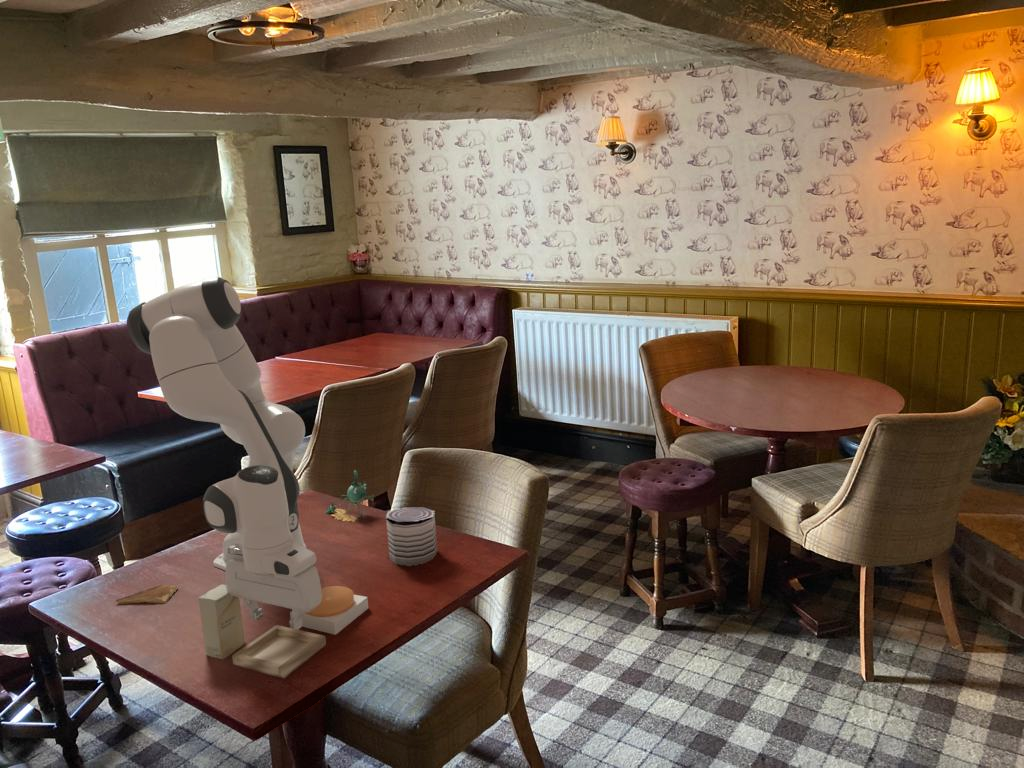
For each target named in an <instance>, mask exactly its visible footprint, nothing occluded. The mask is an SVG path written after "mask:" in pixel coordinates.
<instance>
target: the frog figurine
mask: <svg viewBox="0 0 1024 768" xmlns="http://www.w3.org/2000/svg"><path fill="white" fill-rule="evenodd" d="M353 478H354V481H353V482H352V483H351V485H350V486H349V487H348V489H347V492H346V493H347V494H342V495H340V501H339V504H338V506H339V507H342V501H343V502H344V504H345V506H346V509H342V508H337V505H336V504H334V501H333V500H331V505H328V507H326V509H325V511H324V514H331V516H332V517H334V519H335V520H337V521H341V522H352V523H356V521H357V520H358V519H359V518H358V517H356V516H354V515H349V514H348V511H350V506H351V505H353V506H356V507H357V509H358V512H359V517H361V515H362V518H363V519H366V518H367V517H366V516H364V513H363V510H362V508H361V506H360V505H359V503H360V502H363V500H365V498H367V499H369V500H371V501H372V502H374V497H375V495H374V494H371V495H369V492H366V489H367V487H368V485H367V483H368V482H367V481H366V480H363V485H362V483H361V482H360V481H359V473H358V471H357V470H354V471H353ZM343 497H345V498H343ZM370 497H372V498H370ZM346 500H347V501H349V504H348V505H347V503H346ZM346 510H347V511H346ZM332 513H333V514H332Z"/></svg>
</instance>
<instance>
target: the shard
mask: <svg viewBox="0 0 1024 768" xmlns="http://www.w3.org/2000/svg"><path fill="white" fill-rule="evenodd" d="M177 589H178V590H179V586H178V585H162V584H161V585H158V586H154V587H152V588H149V589H148V588H147V589H145V590H142V591H139V592H136V593H133V594H131V595H128V596H125V597H122V598H119V599H115V602H117V604H118V605H125V603H126V604H142V603H143V604H145V603H144V602H147V603H146V604H152V603H153V604H165V603H167V602H168V600H169V599H170V598H171V597H172V596H173V595H174V594H175V593H176V592H177V591H178V590H177ZM176 590H177V591H176ZM174 592H175V593H174ZM173 593H174V594H173ZM172 594H173V595H172ZM169 597H170V598H169ZM141 602H142V603H141Z"/></svg>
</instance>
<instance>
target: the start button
mask: <svg viewBox="0 0 1024 768" xmlns="http://www.w3.org/2000/svg"><path fill="white" fill-rule="evenodd" d="M321 591H322V601H321V603H320V604H319V605H318V606H317V607H316V608H315V609H313V610H312V611H310V612H306V613H307V614H309V615H312V616H318V617H326V616H333V615H337V614H340V613H342V612H345V611H346V610H348V609H349V608H351V607H352V606H353V604H354V595H355V593H354V591H353V590H352V589H350V588H349V587H346V586H341V585H329V586H324V587H321Z"/></svg>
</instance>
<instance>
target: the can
mask: <svg viewBox="0 0 1024 768" xmlns="http://www.w3.org/2000/svg"><path fill="white" fill-rule="evenodd" d="M435 513H436V511H435V510H432V509H430V508H427V507H424V506H423V507H421V506H420V507H418V506H417V507H401V508H397V509H393V510H389V511H387V513H386V515H385V516H384V518H386V529H387V531H386V532H387V543H388V554H389V559H390V560H391V562H393V563H394V565H398V564H399V566H404V565H405V566H404V567H413V566H412V565H414V566H419V565H418V564H421V563H425V562H427V561H428V560H431V559H432V558H434V557H435V554H436V552H437V553H438V544H437V543H438V542H437V529H436V528H437V527H436V519H435V517H436V516H435ZM436 555H437V554H436ZM435 558H436V557H435ZM431 561H432V560H431ZM427 563H428V562H427ZM425 564H426V563H425Z"/></svg>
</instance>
